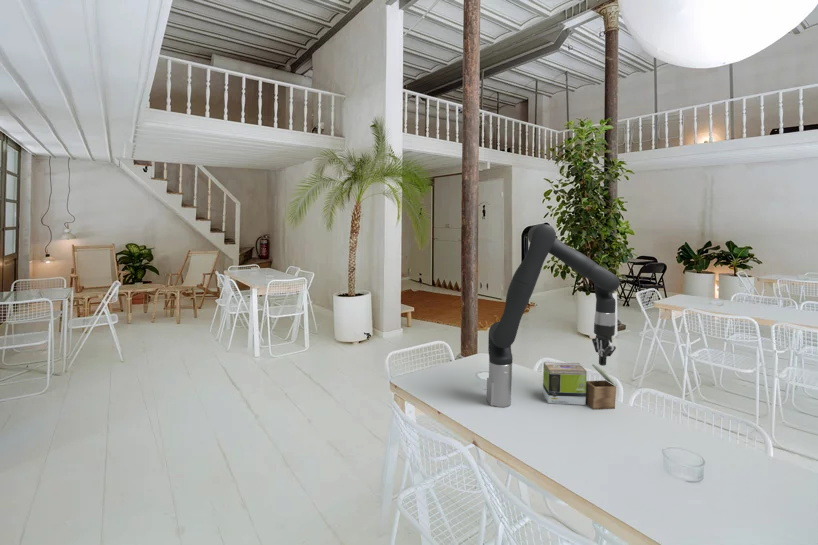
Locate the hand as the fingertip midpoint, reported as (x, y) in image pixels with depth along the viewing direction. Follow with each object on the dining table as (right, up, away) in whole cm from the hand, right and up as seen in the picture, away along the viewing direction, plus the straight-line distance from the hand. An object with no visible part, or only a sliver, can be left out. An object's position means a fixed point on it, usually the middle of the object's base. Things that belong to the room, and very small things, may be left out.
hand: (602, 364), depth 163 cm
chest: (0, -17, +2) cm, 17 cm away
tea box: (-13, -16, +7) cm, 22 cm away
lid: (+1, -4, +1) cm, 5 cm away
